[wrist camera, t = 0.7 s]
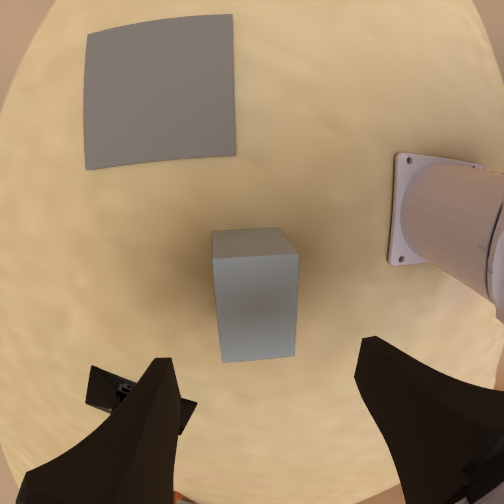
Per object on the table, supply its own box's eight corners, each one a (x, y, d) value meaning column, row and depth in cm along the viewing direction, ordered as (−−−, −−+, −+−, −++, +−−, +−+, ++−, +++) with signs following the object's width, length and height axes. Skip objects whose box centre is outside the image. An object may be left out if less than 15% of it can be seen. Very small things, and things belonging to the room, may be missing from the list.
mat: (231, 18, 14) (232, 14, 13) (235, 155, 17) (235, 155, 16) (91, 37, 13) (87, 34, 12) (89, 169, 16) (85, 170, 15)
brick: (278, 227, 19) (298, 253, 14) (277, 312, 21) (294, 355, 16) (213, 231, 18) (212, 258, 14) (219, 316, 20) (221, 363, 16)
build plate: (218, 395, 23) (221, 437, 19) (192, 439, 25) (192, 476, 21) (78, 347, 20) (58, 384, 16) (72, 399, 22) (58, 434, 18)
